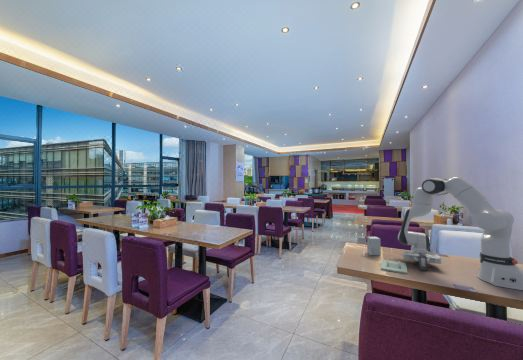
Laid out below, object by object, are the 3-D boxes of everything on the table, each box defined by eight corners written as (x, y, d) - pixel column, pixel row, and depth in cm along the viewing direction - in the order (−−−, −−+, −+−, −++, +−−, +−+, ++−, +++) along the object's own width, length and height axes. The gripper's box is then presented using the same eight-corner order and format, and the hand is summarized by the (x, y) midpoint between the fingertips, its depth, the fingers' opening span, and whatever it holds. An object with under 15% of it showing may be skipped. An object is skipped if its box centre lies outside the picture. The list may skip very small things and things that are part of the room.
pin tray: (381, 261, 154) (381, 256, 154) (405, 264, 147) (405, 259, 147) (380, 269, 139) (380, 264, 139) (407, 274, 132) (407, 268, 132)
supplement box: (376, 252, 173) (376, 236, 174) (381, 255, 166) (380, 238, 166) (367, 252, 174) (366, 236, 174) (370, 255, 167) (370, 238, 167)
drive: (418, 266, 142) (418, 252, 143) (425, 267, 141) (424, 253, 141) (420, 270, 137) (419, 255, 137) (426, 271, 136) (426, 256, 136)
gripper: (401, 248, 156) (402, 253, 144) (438, 252, 145) (443, 258, 133) (401, 257, 156) (403, 263, 144) (438, 262, 145) (443, 269, 133)
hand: (422, 261), depth 138 cm, fingers closed on drive, 3 cm apart
